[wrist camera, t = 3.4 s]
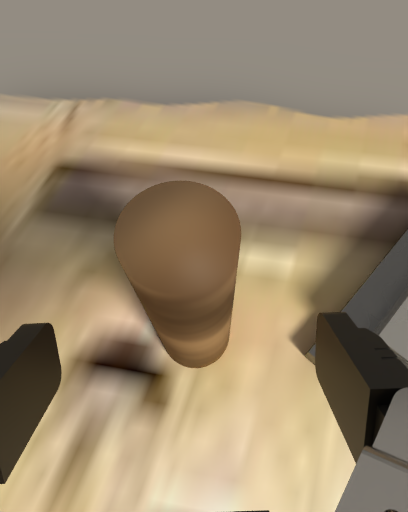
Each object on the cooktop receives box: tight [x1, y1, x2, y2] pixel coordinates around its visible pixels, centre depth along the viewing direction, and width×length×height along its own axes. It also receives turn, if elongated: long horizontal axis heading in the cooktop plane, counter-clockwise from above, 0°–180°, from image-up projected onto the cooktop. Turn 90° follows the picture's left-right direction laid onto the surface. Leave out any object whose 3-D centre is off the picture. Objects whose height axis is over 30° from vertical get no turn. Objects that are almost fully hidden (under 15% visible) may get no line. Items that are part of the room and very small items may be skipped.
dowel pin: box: [114, 181, 241, 368], centre depth 16 cm, size 4×4×11 cm
